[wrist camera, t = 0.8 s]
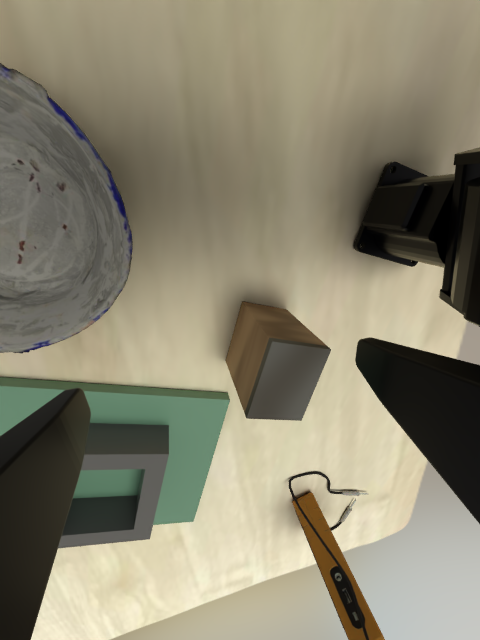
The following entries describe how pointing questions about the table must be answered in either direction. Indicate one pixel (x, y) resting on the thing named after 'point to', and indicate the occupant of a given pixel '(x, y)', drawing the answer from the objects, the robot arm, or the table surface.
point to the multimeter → (336, 566)
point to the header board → (130, 454)
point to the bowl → (54, 222)
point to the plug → (274, 362)
